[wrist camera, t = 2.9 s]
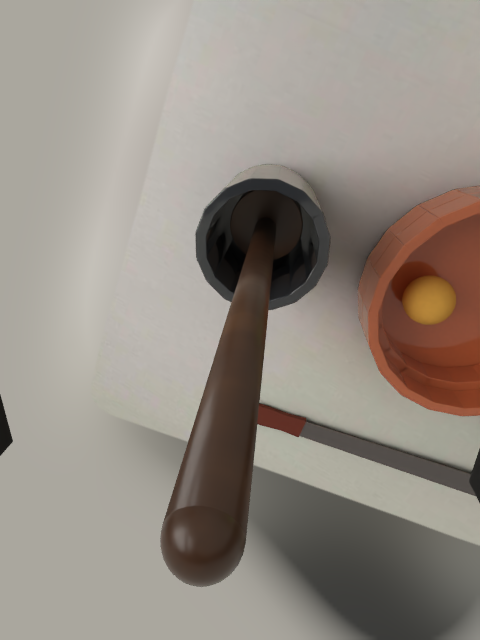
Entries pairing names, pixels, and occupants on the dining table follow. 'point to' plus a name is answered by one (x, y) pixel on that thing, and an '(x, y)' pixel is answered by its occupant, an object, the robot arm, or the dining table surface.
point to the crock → (288, 271)
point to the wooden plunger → (229, 406)
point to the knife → (365, 449)
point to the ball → (429, 300)
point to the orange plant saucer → (419, 339)
